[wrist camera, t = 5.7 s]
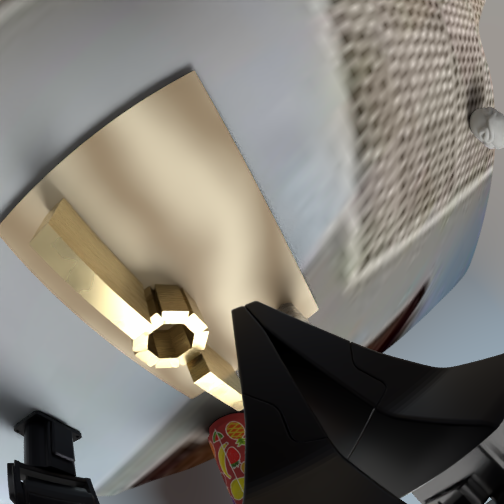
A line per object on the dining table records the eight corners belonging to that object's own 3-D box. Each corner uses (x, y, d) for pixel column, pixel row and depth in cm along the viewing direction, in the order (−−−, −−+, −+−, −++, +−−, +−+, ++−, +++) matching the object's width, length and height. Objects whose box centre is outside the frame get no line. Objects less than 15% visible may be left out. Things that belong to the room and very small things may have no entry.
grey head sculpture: (475, 147, 32) (513, 161, 27) (459, 134, 29) (503, 147, 23) (481, 112, 30) (519, 123, 24) (465, 94, 27) (509, 104, 21)
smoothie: (269, 407, 35) (350, 523, 19) (234, 440, 36) (299, 548, 20) (222, 402, 30) (308, 548, 14) (187, 438, 31) (252, 568, 15)
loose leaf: (126, 296, 19) (133, 339, 15) (47, 213, 14) (28, 243, 11) (142, 283, 19) (152, 325, 15) (63, 197, 14) (48, 223, 11)
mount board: (190, 394, 28) (192, 399, 27) (-3, 226, 13) (-5, 230, 13) (315, 306, 29) (318, 309, 29) (191, 71, 15) (194, 70, 15)
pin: (278, 328, 27) (323, 383, 21) (266, 312, 26) (314, 371, 20) (301, 310, 28) (350, 362, 22) (292, 293, 26) (344, 347, 20)
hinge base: (204, 384, 27) (222, 421, 23) (114, 312, 19) (119, 359, 16) (247, 355, 27) (269, 391, 23) (168, 271, 20) (184, 312, 16)
